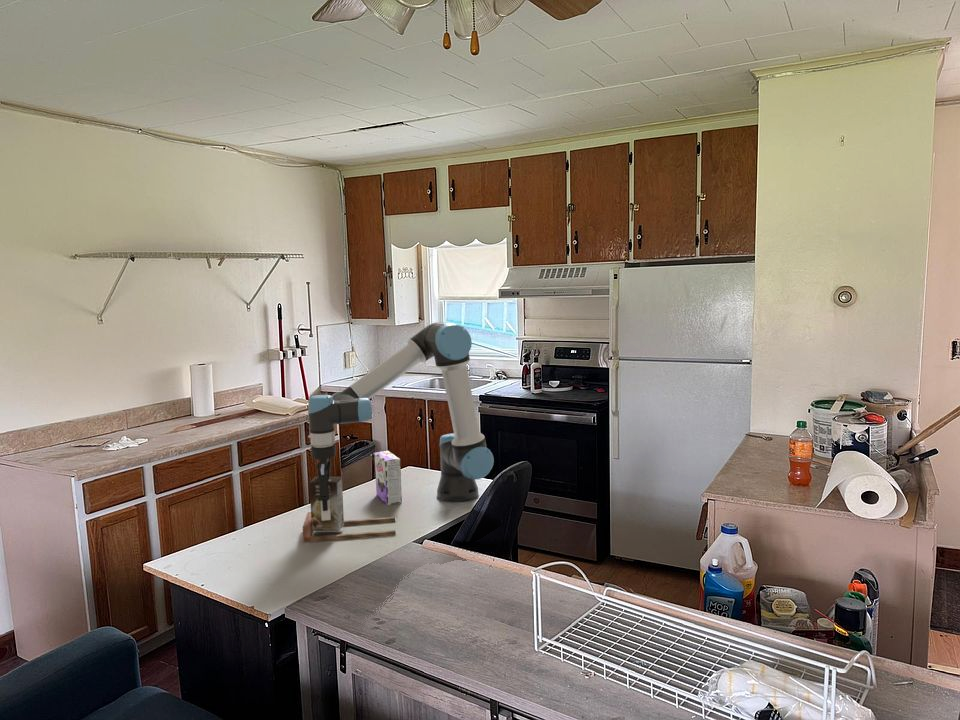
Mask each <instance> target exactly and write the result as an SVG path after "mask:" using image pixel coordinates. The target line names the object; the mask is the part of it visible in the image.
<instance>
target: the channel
mask: <svg viewBox="0 0 960 720" xmlns="http://www.w3.org/2000/svg"><path fill="white" fill-rule="evenodd" d="M304 519H305V520H304V521H303V525H302V537H303V543H314V542H329V541H337V540H338V541H339V540H351V539H352V540H353V539H364V538H374V537H375V538H376V537H377V538H378V537H386V536H396V535H397V534H396V533H397V532H396V529H391V530H390V529H389V530H380V531H379V530H378V531H377V530H376V531H366V532H355V533H342V534H330V535H329V534H328V535H316V536H315V535H314V536H313V534H314V532H315V531H312V522H311V511H309V512H308V511H307V514H306V516H305V518H304ZM395 522H396V517H395V516H390V517H389V516H387V517H377V518H364V519H363V518H362V519H351V520H349V519H348V520H344V526H355V525H369V524H370V525H371V524H380V523H381V524H383V523H395ZM344 526H343V527H344Z"/></svg>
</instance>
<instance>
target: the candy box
mask: <svg viewBox="0 0 960 720" xmlns="http://www.w3.org/2000/svg"><path fill="white" fill-rule="evenodd" d="M373 454H374V469H375V487H376V488H375V489H376V492H375V493H376V496H377V497H378V498H379V499H380V500H381V501H382V502H383V503H384V504H385V505H386V506H391V505H397V504H398V503H399V504H402V501H403V499H402V497H403V496H402V474H401V473H402V472H401V458H400V457H398V456H396V455H395V454H394V453H392V452H391V451H390V450H383V451H377V452H374V453H373Z"/></svg>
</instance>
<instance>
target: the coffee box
mask: <svg viewBox="0 0 960 720" xmlns="http://www.w3.org/2000/svg"><path fill="white" fill-rule="evenodd" d="M308 484H309V485H308V486H309V499H310V502H309V503H310V512H311V522H312V531H314V532H340V531H341V530H342V528H343V527H344V521H345V515H344V513H345V512H344V495H343V477H342V476H331V477H329V478H328V489H329V499H330V515H331V520H324V521H322V518H321V502H320V501H318V499H319V498H320V493H319V477H318V476H314V477H313V478H312V479H311V480H310V481H309V483H308Z"/></svg>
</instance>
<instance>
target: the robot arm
mask: <svg viewBox="0 0 960 720" xmlns="http://www.w3.org/2000/svg"><path fill="white" fill-rule="evenodd" d="M472 345H473V343H472V337H471V335H470V332H469V331H468V329H466V328H465V327H464V326H462V325H460V324H458V323H455V322H443V321H437V322H432V323H430V324H429V325H427V326H425V327H424V328H422V329H421V330H419V331H418V332H417V333H416V334H415V335H413V336H412V337H411V338H409V339H408V340H407V344H406V345H404V346H403V347H402V348H401V349H399V350H397V351H396V352H395V353H393V354H392V355H391V356H389V357H387V358H386V359H385V360H384V361H382V362H381V363H380V364H378V365H377V366H376V367H374V368H372V369H371V370H369V372H367V373H365V374H364V375H363V376H362V377H360V378H359V379H358V380H356V381H354V382H353V383H352V384H351V385H349V386H348V387H346V388H345V389H343V390H342V391H337V392H334V393H333V394H332V395H330V394H317V395H312V396H310V397H309V398H308V401H307V402H308V405H307V406H308V409H307V413H308V423H309V434H308V436H307V438H309V439H310V445H311V446H310V455H311V458H312V459H313V460H318V462H317V464H316V467H317V472H318V473H317V475H318V477H319V493H320V498H319V499H318V501H320V502H321V518H322V521H324V520H331V515H330V499H329V489H328V478H329V477H332V461H331V459H333V458H335V457H336V455H337V453H336V452H337V450H336V444H335V443H336V431H335V425H341V424H351V423H353V424H354V423H362V422H366V421H371V418H372V416H373V407H372V402H371V400H370V399H372V398H373V397H374V396H376V395H377V394H379V393H380V392H382V391H383V390H384V389H386V387H388V386H389V385H390V384H392V383H393V382H395V381H396V380H397V379H399V378H400V377H402V376H403V375H404V374H406V373H407V372H408V371H410V370H412V368H414V367H415V366H416V365H418V364H419V363H426V362H427V361H428V360H430V359H432V358H434V361H435V367H437V368H438V369H439V370H441V375H442V378H443V379H442V380H443V384H444V389H445V395H446V399H447V405H448V411H449V414H450V419H451V425H452V430H453V433H447V434H442V435H440V438H439V445H438V446H439V456H440V461H439V462H440V479H439V481H438V486H437V489H436V497H437V499H439V500H440V501H444V502H453V503H454V502H455V503H457V502H467V501H470V500H473V499H476V498H478V496H479V487H478V484H477V480H482V479H483V478H485V477H487V475H489V473H490V472H491V470H492V469H493V466H494V463H495V461H494V460H495V459H494V455H493V452H492V451H491V449H489V448H488V447H487V443H486V437H485V435H484V434H483V433H482V432H480V429H479V425H478V418H477V414H476V409H475V404H474V398H473V394H472V392H473V391H472V389H471V382H470V377H469V372H468V363H469V362H470V361H471V358H470V351H471V350H472V349H471V348H472Z"/></svg>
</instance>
